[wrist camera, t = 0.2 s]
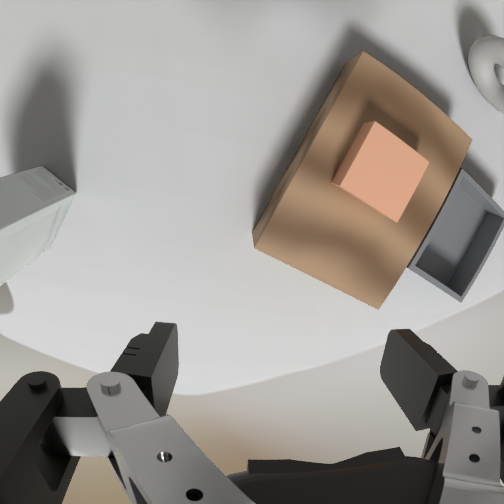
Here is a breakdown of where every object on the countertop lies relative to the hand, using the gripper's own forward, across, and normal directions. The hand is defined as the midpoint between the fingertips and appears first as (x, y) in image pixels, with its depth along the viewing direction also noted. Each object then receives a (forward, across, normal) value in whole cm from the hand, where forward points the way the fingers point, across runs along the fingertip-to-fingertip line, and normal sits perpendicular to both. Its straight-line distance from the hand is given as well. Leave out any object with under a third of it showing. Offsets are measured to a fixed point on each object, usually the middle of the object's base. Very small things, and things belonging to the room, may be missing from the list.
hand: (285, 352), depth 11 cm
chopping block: (+21, -10, -7) cm, 25 cm away
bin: (+22, -22, -3) cm, 31 cm away
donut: (+20, -25, -22) cm, 39 cm away
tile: (+16, -9, -8) cm, 20 cm away
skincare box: (+22, +24, -3) cm, 32 cm away
